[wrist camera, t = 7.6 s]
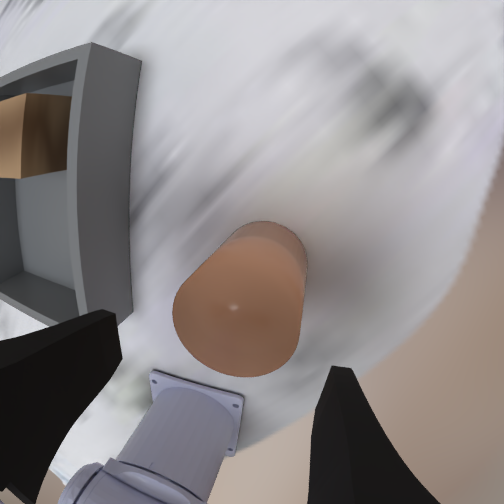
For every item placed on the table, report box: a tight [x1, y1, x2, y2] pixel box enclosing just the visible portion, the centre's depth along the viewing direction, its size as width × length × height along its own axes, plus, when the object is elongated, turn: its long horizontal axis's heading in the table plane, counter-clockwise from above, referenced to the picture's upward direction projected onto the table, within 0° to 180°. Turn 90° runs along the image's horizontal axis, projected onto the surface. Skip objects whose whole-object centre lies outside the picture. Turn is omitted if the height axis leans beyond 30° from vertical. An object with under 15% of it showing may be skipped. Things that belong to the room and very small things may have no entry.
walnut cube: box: [0, 93, 72, 179], centre depth 15 cm, size 5×5×5 cm
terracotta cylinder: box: [172, 221, 307, 377], centre depth 14 cm, size 5×5×7 cm
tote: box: [0, 42, 142, 327], centre depth 17 cm, size 18×14×5 cm
